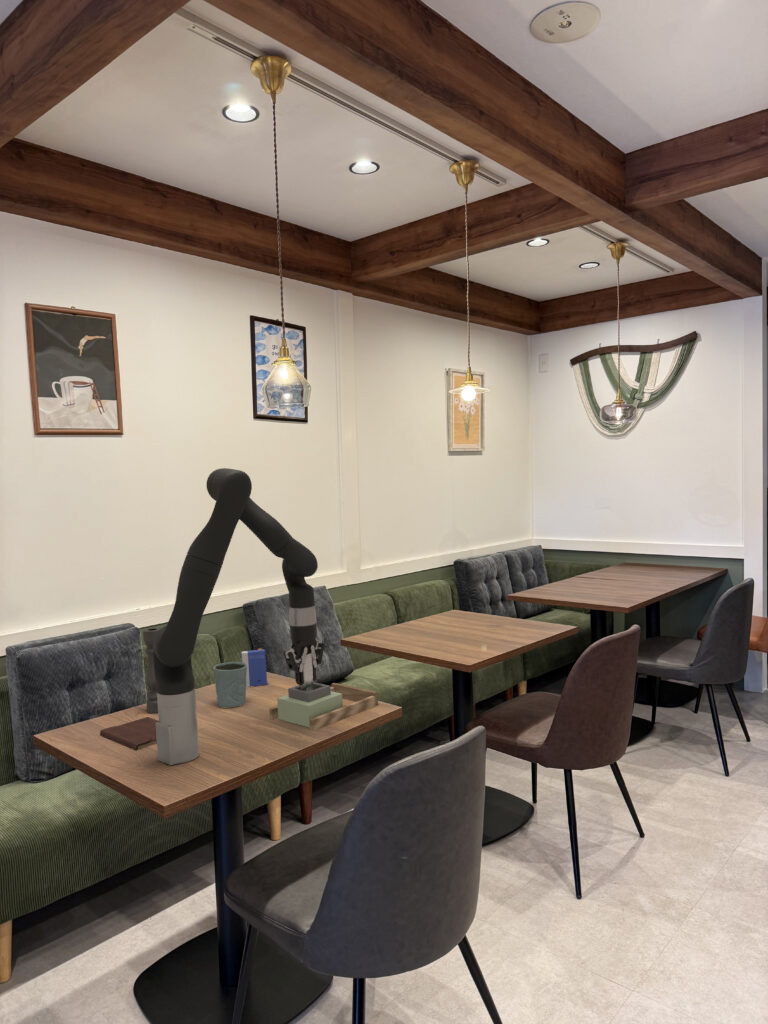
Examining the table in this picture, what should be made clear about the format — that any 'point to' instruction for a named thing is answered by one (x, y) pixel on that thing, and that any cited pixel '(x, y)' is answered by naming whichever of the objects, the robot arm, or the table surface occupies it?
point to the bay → (363, 702)
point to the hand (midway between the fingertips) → (306, 682)
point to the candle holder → (150, 670)
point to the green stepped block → (307, 704)
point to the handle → (307, 674)
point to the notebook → (133, 733)
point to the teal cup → (230, 683)
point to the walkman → (255, 667)
